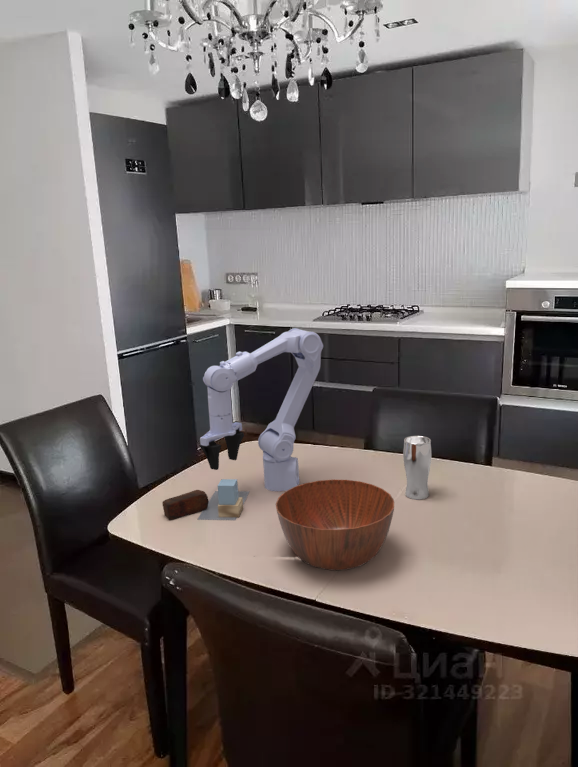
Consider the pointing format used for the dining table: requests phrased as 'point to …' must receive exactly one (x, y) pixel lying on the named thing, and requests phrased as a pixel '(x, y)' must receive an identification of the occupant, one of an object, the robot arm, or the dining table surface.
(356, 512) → the bowl
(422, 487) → the beer glass
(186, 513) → the brick
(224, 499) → the blue block
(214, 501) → the board
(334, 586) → the dining table surface
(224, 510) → the oak block
